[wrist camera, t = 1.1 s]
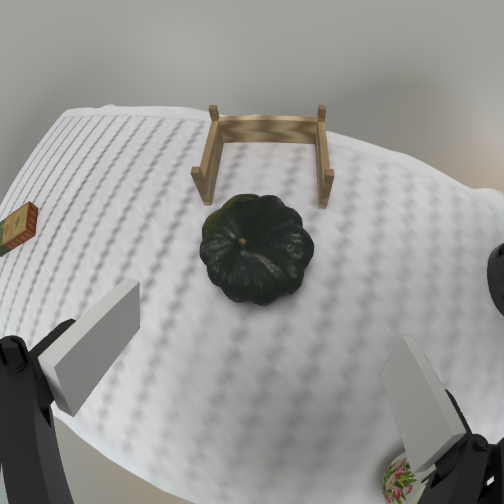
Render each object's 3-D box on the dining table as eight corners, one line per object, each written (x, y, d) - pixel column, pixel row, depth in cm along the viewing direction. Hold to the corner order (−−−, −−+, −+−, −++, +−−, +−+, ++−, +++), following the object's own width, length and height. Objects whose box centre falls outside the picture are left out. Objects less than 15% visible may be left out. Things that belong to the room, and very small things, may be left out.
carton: (36, 236, 50) (25, 229, 46) (1, 258, 49) (-10, 252, 45) (39, 208, 53) (29, 199, 49) (4, 231, 52) (-6, 224, 48)
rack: (320, 140, 51) (325, 105, 42) (325, 208, 45) (334, 175, 36) (218, 138, 53) (209, 105, 45) (204, 204, 47) (190, 173, 39)
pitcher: (349, 516, 25) (371, 560, 12) (394, 421, 31) (440, 441, 18) (405, 515, 23) (438, 550, 10) (447, 426, 29) (499, 438, 16)
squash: (278, 175, 41) (209, 165, 29) (347, 247, 37) (302, 267, 25) (230, 240, 49) (160, 252, 36) (285, 307, 44) (224, 344, 32)
